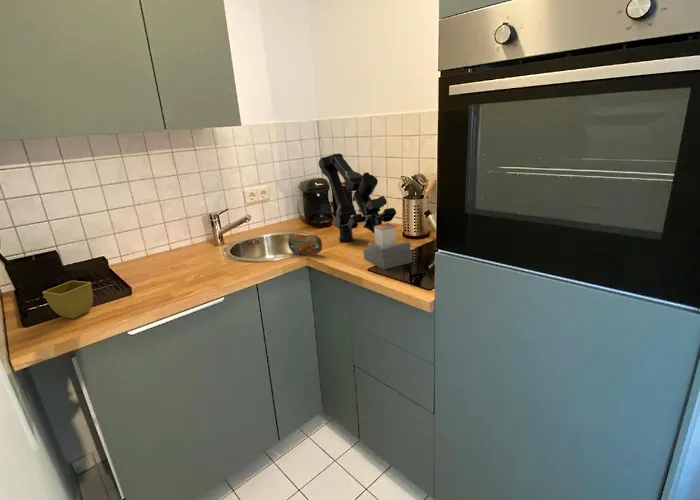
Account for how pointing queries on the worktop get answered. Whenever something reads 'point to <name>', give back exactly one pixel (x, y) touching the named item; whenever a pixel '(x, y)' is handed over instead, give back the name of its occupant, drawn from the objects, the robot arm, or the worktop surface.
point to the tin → (305, 244)
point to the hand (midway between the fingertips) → (381, 236)
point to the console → (389, 255)
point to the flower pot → (70, 298)
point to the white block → (385, 235)
